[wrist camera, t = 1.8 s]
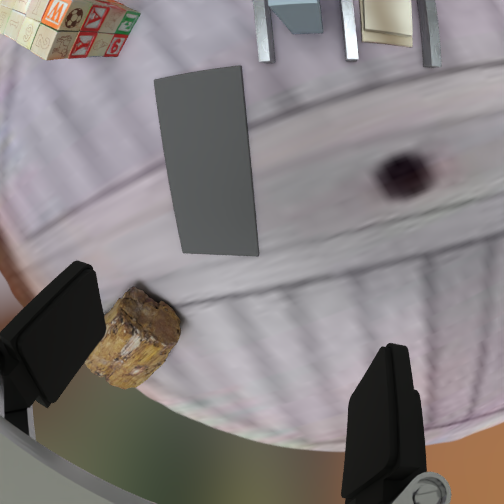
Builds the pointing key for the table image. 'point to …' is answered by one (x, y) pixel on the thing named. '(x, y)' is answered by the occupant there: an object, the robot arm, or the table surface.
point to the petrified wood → (134, 340)
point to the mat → (208, 160)
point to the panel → (299, 15)
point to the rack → (353, 32)
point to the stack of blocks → (67, 26)
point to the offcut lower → (382, 35)
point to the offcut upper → (388, 17)
